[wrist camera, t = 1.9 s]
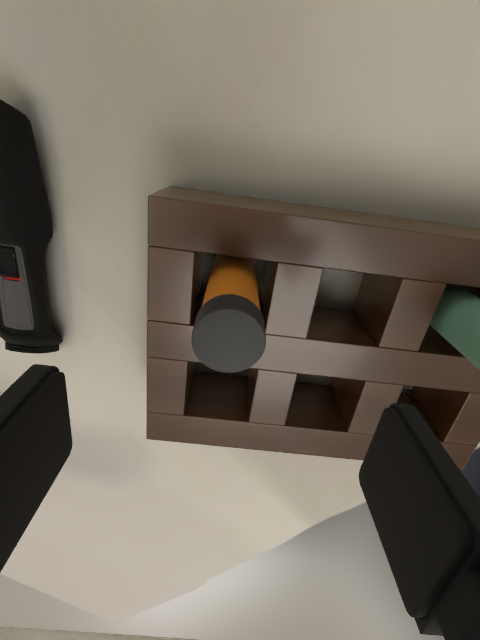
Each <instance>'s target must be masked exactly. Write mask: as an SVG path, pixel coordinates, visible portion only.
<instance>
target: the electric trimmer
mask: <svg viewBox="0 0 480 640" xmlns="http://www.w3.org/2000/svg"><path fill="white" fill-rule="evenodd" d="M52 234H53V230H52V223H51V217H50V212H49V207H48V202H47V197H46V193H45V188H44V183H43V178H42V174H41V169H40V164H39V159H38V155H37V150H36V145H35V140H34V136H33V131H32V127H31V123H30V121H29V119H28V118H27V117H26V115H24V114H23V113H21V112H20V111H18V110H17V109H15V108H14V107H12V106H10V105H9V104H7V103H5V102H4V101H2V100H0V337H1V338H3V339H4V341H5V349H7V350H10V351H16V352H23V353H49V352H55V351H58V350H59V343H61V342H62V341H63V339H62V336H60V335H57V334H55V333H54V332H53V330H52V325H51V316H50V306H49V296H48V286H47V277H46V267H45V252H46V249H47V246H48V244H49V242H50V240H51V238H52Z"/></svg>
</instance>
